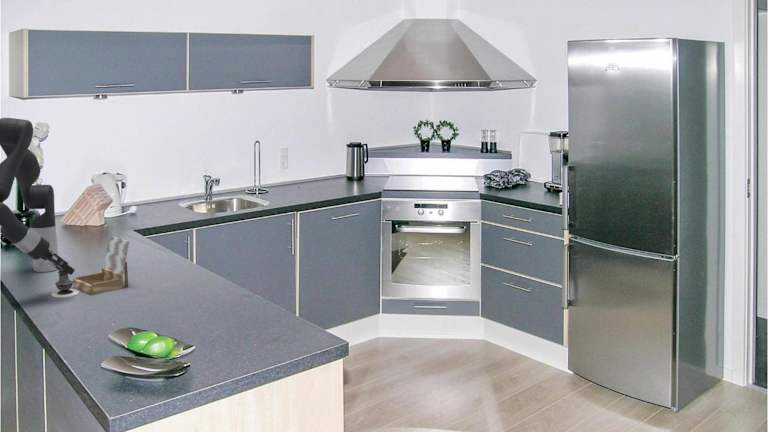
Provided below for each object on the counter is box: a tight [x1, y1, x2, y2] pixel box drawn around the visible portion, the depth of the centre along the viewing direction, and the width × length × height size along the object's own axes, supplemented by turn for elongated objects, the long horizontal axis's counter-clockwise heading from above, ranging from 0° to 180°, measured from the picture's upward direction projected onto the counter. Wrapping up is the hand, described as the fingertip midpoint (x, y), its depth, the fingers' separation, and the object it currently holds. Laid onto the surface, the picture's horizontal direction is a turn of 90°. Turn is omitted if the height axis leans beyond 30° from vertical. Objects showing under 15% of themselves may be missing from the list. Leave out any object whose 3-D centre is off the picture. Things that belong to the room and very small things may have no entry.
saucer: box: [51, 288, 80, 299], centre depth 286 cm, size 9×9×1 cm
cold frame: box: [72, 235, 130, 295], centre depth 294 cm, size 14×15×17 cm
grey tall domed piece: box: [54, 262, 73, 295], centre depth 285 cm, size 6×6×12 cm
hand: (67, 270), depth 286 cm, fingers open, 8 cm apart
